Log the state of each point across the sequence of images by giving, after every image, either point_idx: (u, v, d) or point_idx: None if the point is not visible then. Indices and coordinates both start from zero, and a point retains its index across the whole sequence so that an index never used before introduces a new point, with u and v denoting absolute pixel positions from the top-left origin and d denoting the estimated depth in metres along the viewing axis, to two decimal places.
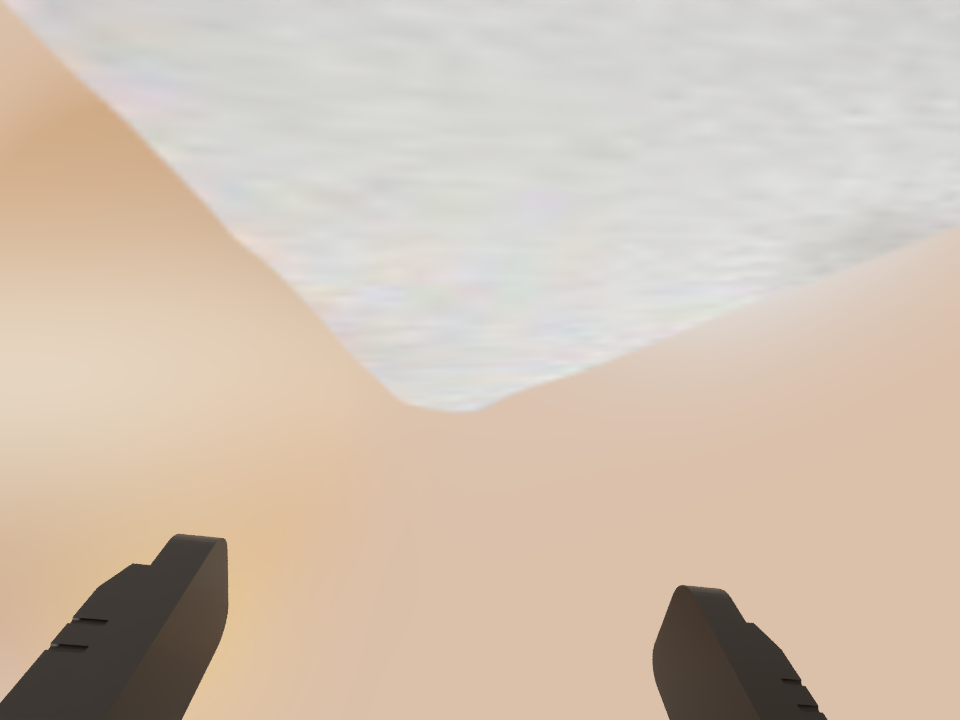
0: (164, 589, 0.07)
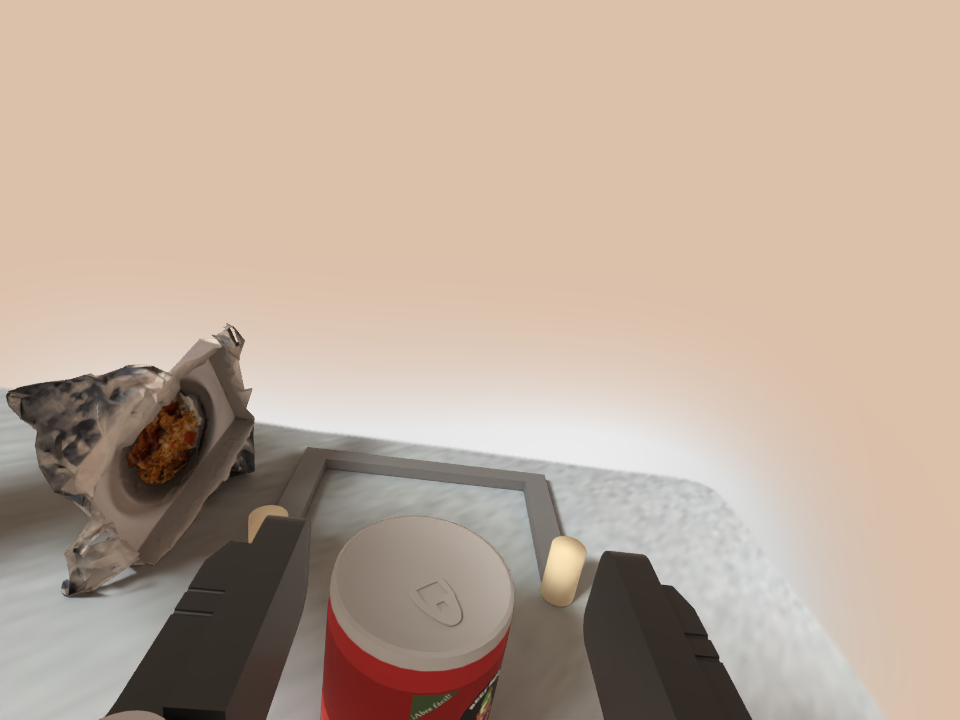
0: (269, 562, 0.08)
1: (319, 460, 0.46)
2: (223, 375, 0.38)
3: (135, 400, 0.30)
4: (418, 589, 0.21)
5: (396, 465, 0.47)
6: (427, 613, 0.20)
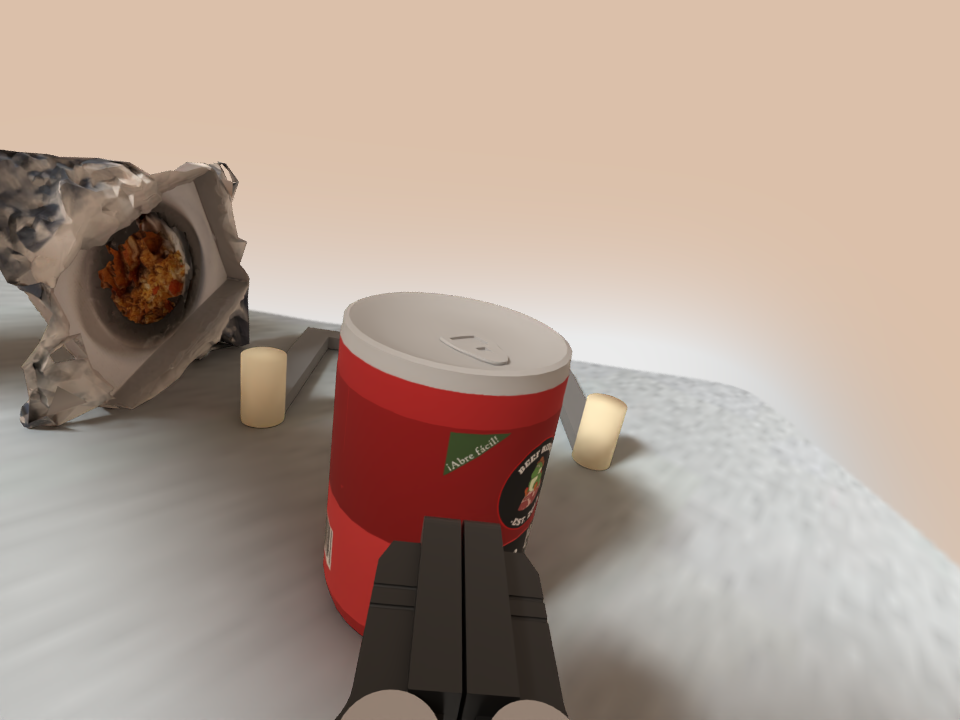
0: (445, 559, 0.09)
1: (321, 337, 0.41)
2: (214, 215, 0.34)
3: (108, 196, 0.26)
4: (451, 337, 0.17)
5: None
6: (465, 352, 0.16)
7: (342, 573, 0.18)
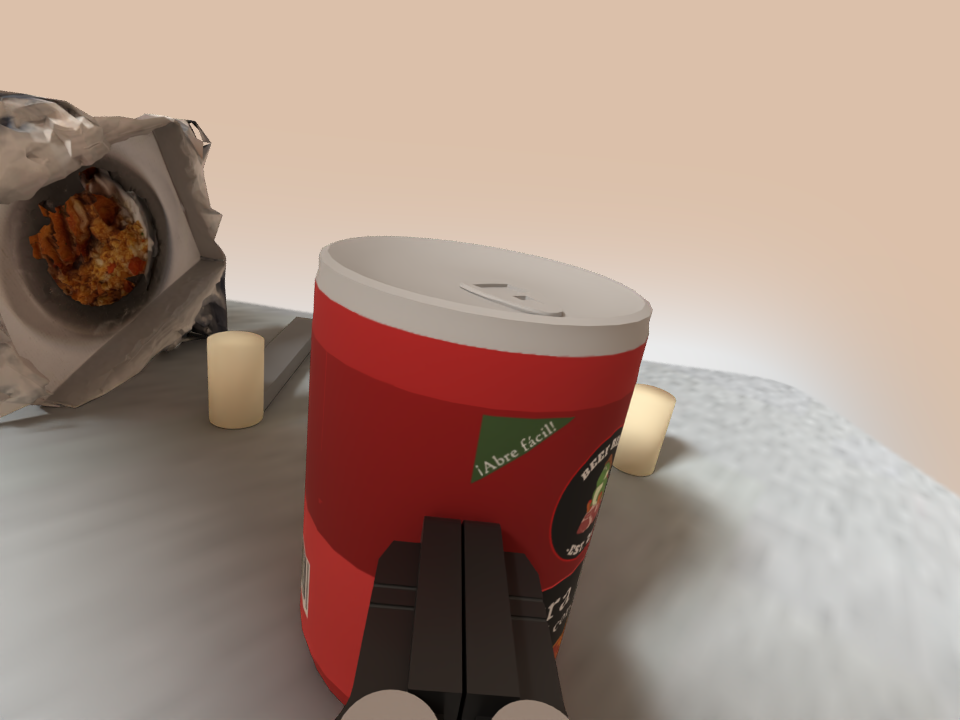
0: (445, 559, 0.09)
1: (311, 327, 0.36)
2: (181, 180, 0.29)
3: (35, 139, 0.21)
4: (476, 283, 0.12)
5: None
6: (499, 301, 0.11)
7: (323, 625, 0.13)
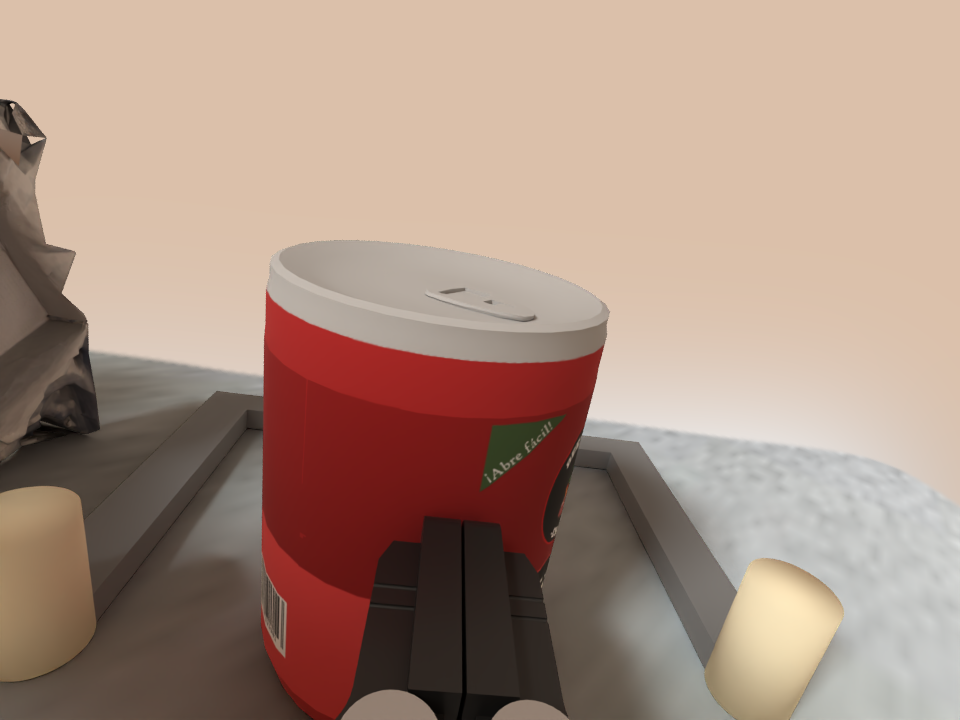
0: (445, 559, 0.09)
1: (233, 412, 0.24)
2: None
3: None
4: (440, 291, 0.12)
5: None
6: (475, 309, 0.11)
7: (311, 661, 0.12)
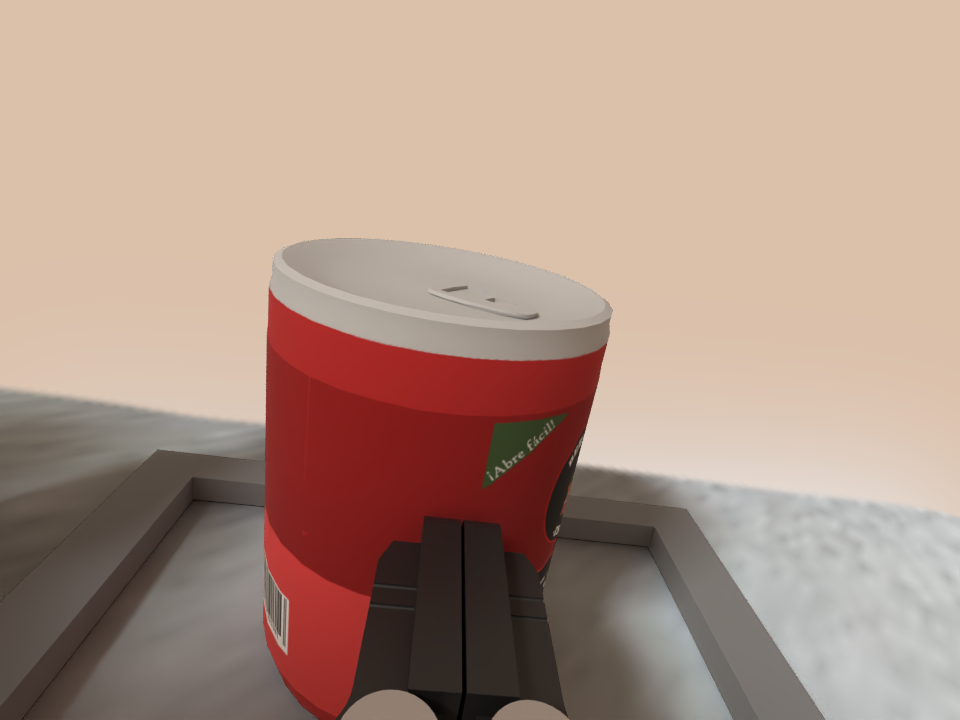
0: (445, 559, 0.09)
1: (173, 481, 0.19)
2: None
3: None
4: (442, 289, 0.12)
5: None
6: (478, 306, 0.11)
7: (314, 658, 0.12)
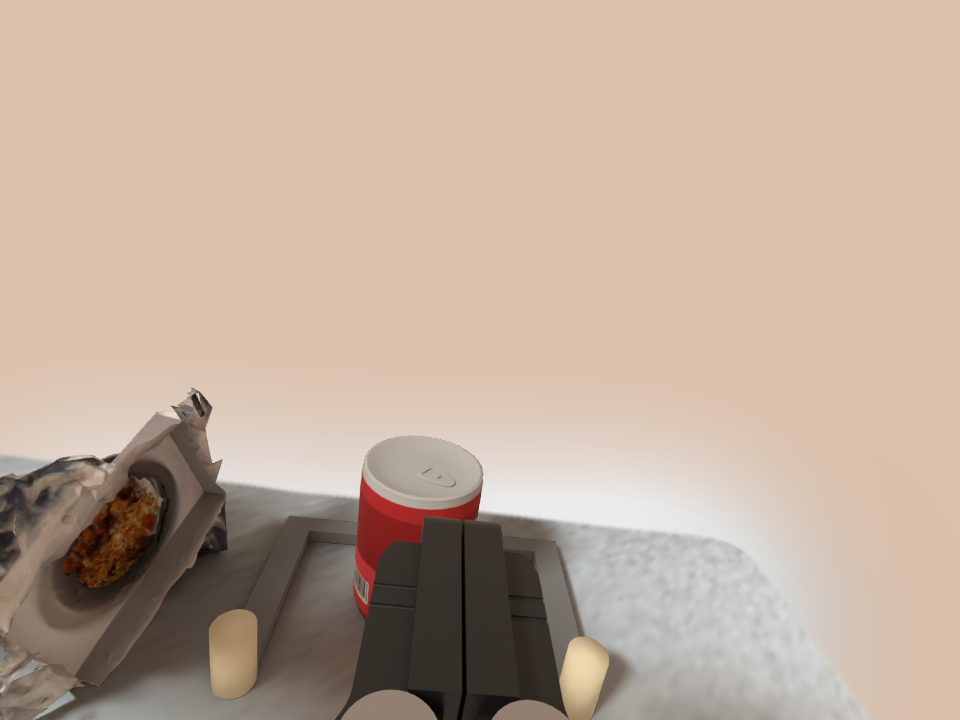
0: (445, 560, 0.09)
1: (301, 533, 0.40)
2: (187, 449, 0.33)
3: (69, 501, 0.25)
4: (422, 472, 0.33)
5: None
6: (433, 483, 0.32)
7: None
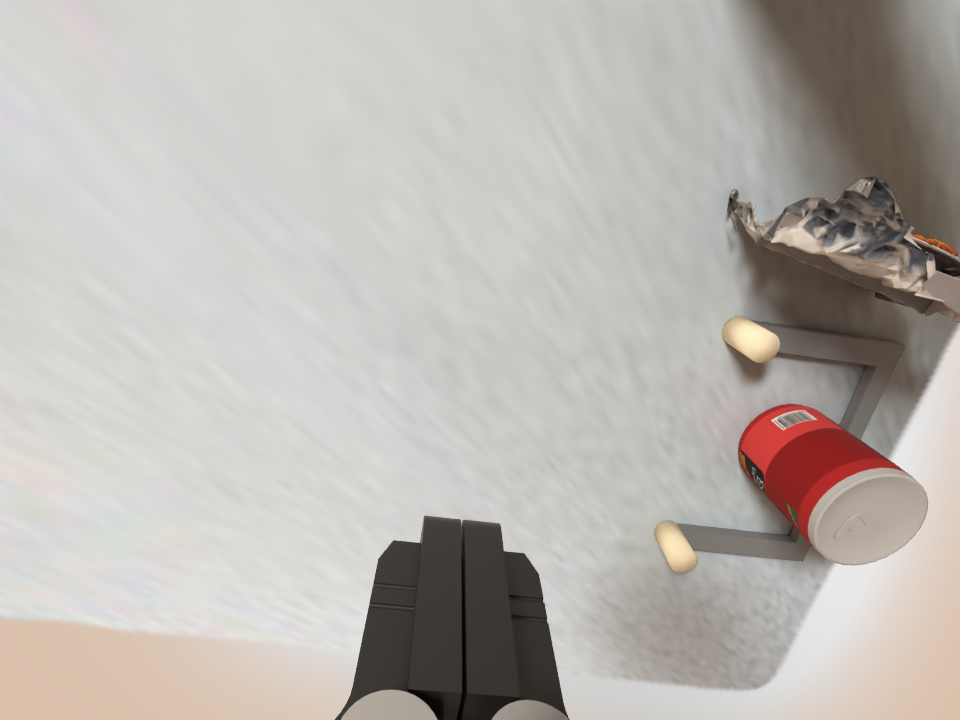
0: (445, 559, 0.09)
1: (875, 360, 0.42)
2: None
3: (880, 264, 0.29)
4: (860, 517, 0.36)
5: (849, 432, 0.45)
6: (842, 524, 0.36)
7: (766, 431, 0.43)
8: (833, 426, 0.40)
